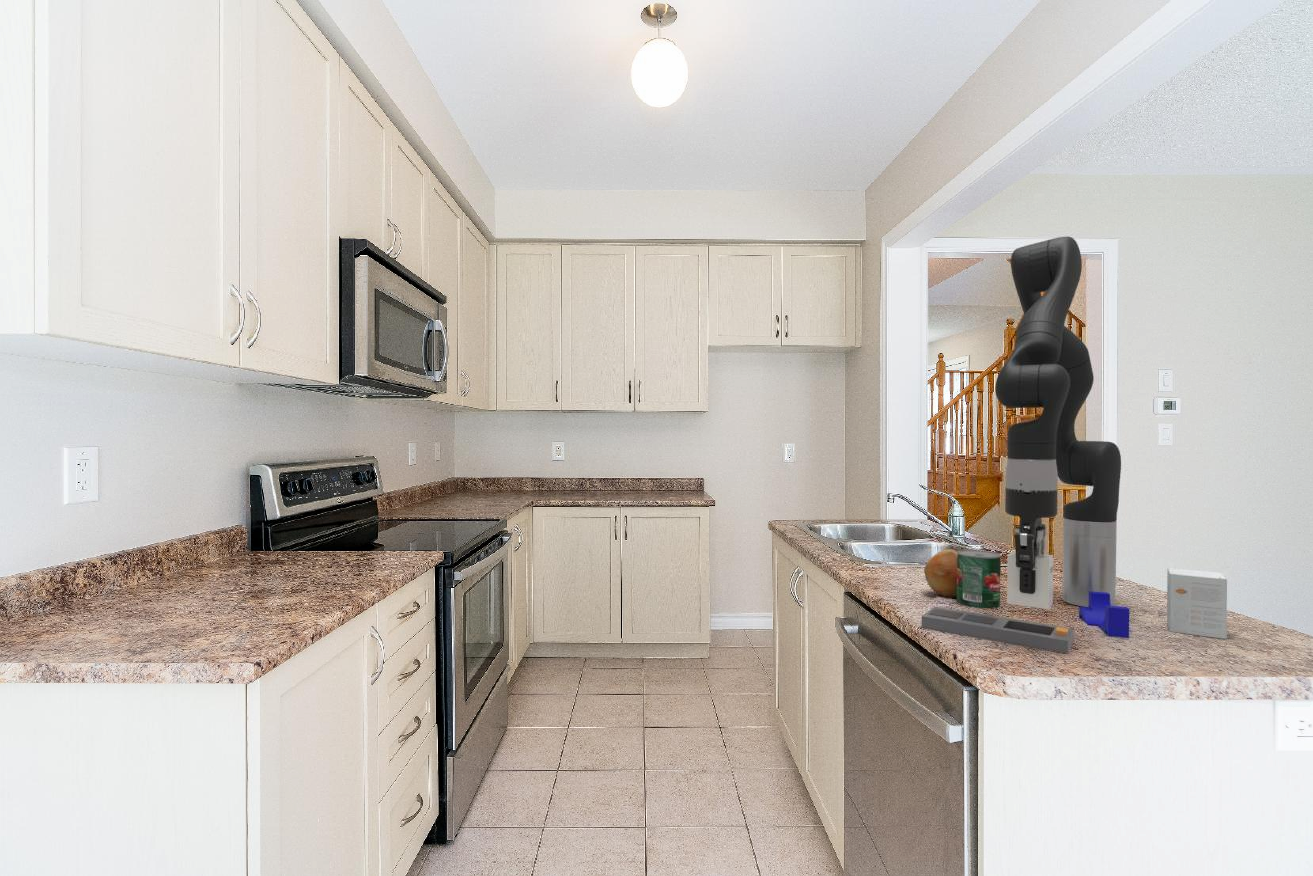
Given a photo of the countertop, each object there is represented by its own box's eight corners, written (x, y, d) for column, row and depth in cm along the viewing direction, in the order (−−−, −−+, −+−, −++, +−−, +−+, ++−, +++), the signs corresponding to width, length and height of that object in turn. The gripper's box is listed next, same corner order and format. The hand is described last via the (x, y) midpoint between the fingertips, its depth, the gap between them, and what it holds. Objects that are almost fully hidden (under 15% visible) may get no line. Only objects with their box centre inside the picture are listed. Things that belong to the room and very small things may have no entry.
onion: (922, 589, 150) (923, 544, 149) (971, 593, 147) (972, 547, 146) (925, 600, 140) (926, 552, 140) (978, 604, 137) (978, 555, 137)
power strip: (934, 622, 124) (934, 603, 124) (1074, 646, 111) (1074, 625, 111) (921, 633, 118) (921, 612, 118) (1067, 660, 104) (1068, 637, 104)
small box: (1222, 631, 119) (1223, 572, 119) (1227, 640, 115) (1228, 578, 114) (1166, 624, 124) (1167, 567, 124) (1168, 632, 119) (1169, 572, 119)
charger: (1012, 597, 115) (1012, 551, 115) (1053, 603, 111) (1054, 555, 111) (1007, 603, 111) (1007, 555, 111) (1049, 609, 108) (1050, 559, 107)
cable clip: (1078, 622, 125) (1079, 590, 125) (1107, 625, 124) (1107, 592, 124) (1097, 642, 114) (1098, 606, 114) (1128, 645, 112) (1129, 609, 112)
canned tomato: (954, 601, 139) (955, 548, 139) (996, 604, 137) (997, 550, 137) (959, 611, 132) (959, 555, 132) (1003, 615, 129) (1004, 558, 129)
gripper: (1013, 482, 119) (1012, 578, 119) (996, 488, 107) (995, 595, 108) (1063, 484, 114) (1062, 585, 115) (1050, 491, 103) (1049, 602, 103)
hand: (1030, 589), depth 111 cm, fingers closed on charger, 4 cm apart
